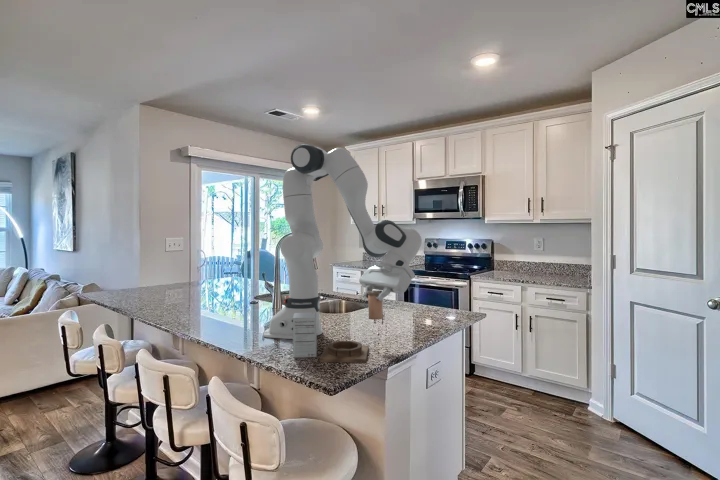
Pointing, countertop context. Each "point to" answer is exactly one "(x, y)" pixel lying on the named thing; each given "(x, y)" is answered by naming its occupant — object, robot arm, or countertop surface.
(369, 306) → the spice jar
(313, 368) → the countertop surface
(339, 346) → the jar stand
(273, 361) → the countertop surface
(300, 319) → the supplement box
